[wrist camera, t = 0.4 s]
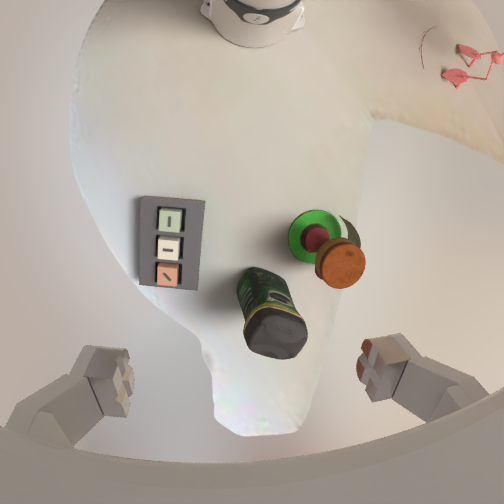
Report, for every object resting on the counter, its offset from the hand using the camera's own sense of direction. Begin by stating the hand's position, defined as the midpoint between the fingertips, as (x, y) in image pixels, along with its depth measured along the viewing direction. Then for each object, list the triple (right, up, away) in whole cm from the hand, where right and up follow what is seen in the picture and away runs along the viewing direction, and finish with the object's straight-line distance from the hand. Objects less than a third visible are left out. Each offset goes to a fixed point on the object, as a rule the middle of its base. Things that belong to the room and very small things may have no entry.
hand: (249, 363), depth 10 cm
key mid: (-14, +5, +43) cm, 45 cm away
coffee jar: (+2, -3, +51) cm, 51 cm away
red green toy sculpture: (+12, +6, +48) cm, 50 cm away
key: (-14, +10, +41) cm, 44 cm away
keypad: (-15, +6, +45) cm, 48 cm away
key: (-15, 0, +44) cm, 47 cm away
